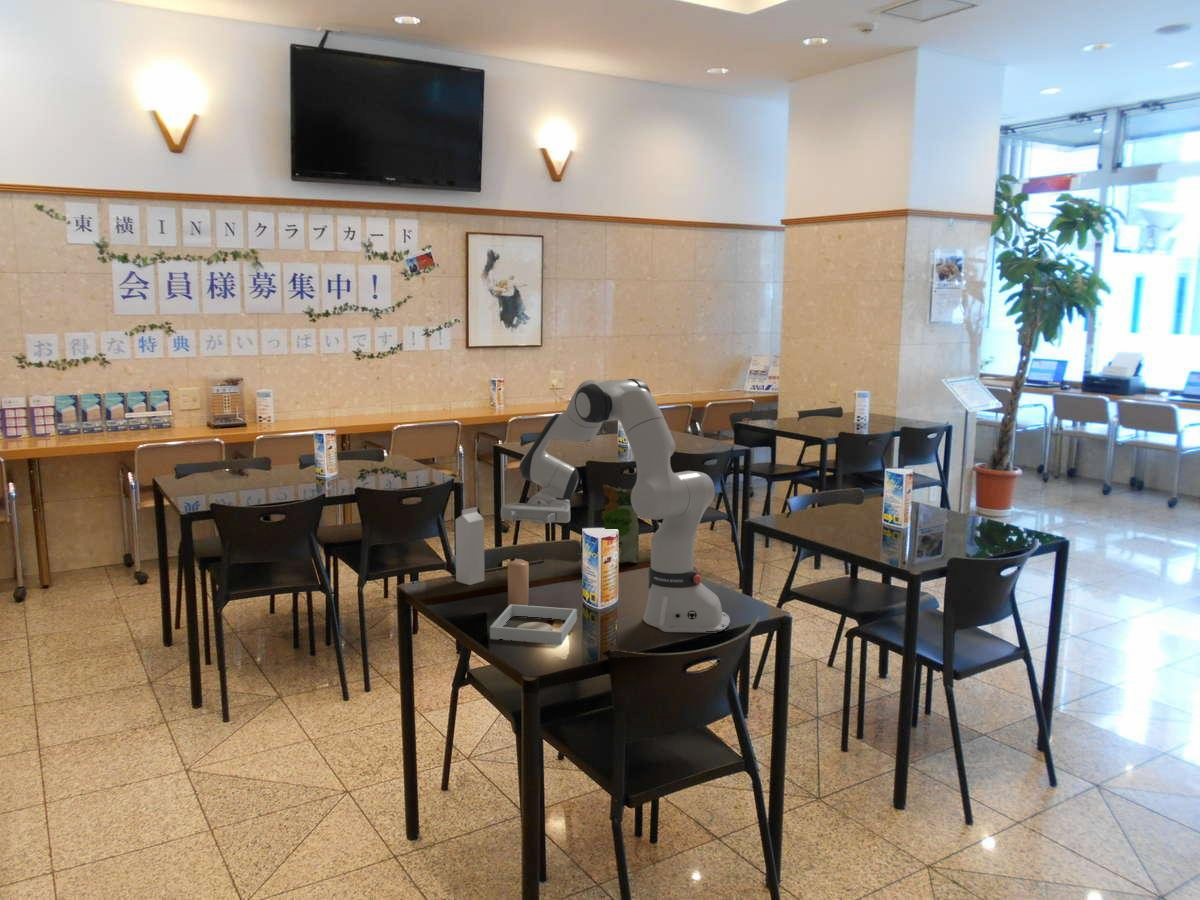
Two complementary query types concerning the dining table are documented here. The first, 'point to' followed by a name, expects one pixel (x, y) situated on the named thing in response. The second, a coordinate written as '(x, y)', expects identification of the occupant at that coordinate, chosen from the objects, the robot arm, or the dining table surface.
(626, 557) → the pouch
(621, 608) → the dining table surface
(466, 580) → the milk
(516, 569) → the canister
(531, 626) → the coaster
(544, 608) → the white square frame
